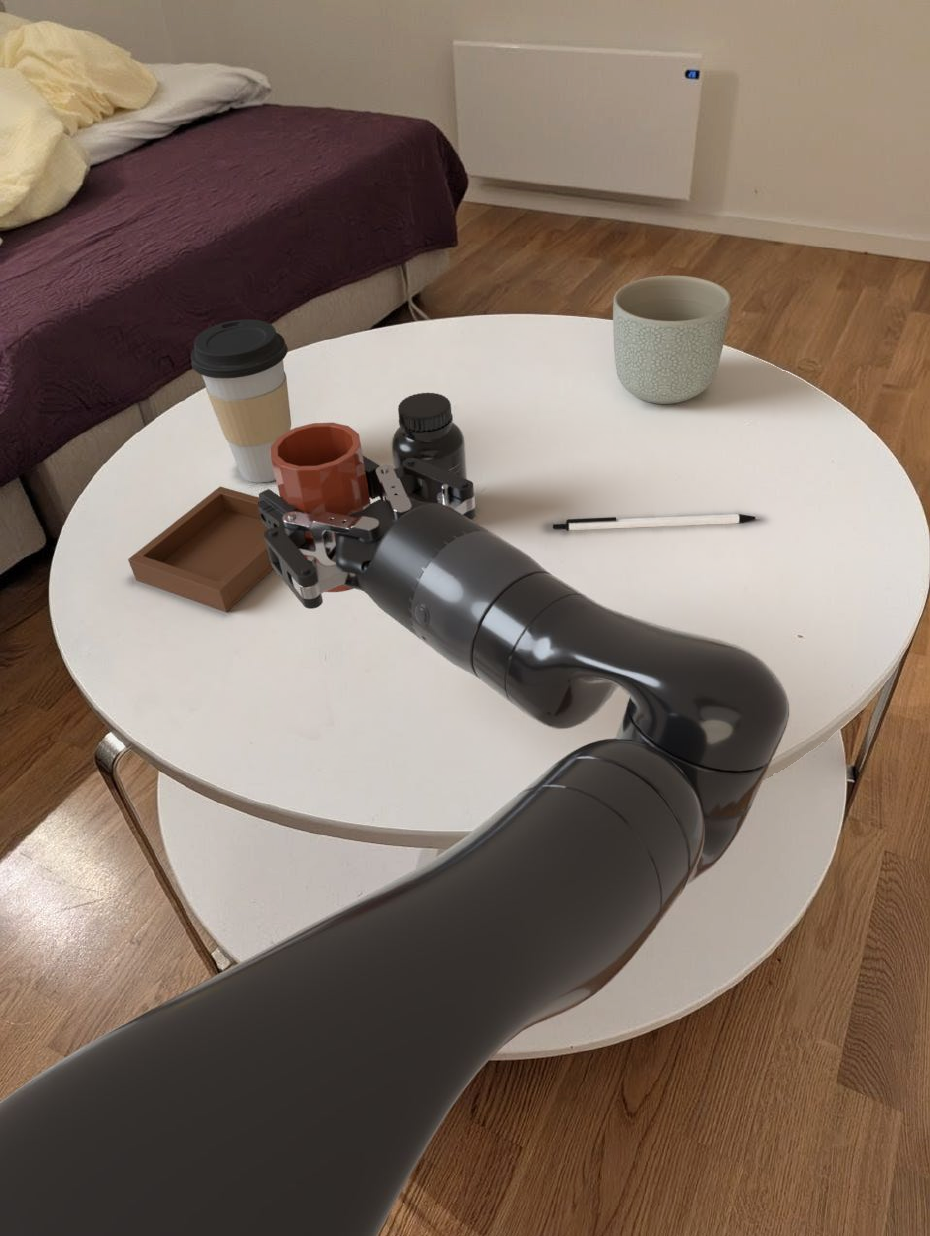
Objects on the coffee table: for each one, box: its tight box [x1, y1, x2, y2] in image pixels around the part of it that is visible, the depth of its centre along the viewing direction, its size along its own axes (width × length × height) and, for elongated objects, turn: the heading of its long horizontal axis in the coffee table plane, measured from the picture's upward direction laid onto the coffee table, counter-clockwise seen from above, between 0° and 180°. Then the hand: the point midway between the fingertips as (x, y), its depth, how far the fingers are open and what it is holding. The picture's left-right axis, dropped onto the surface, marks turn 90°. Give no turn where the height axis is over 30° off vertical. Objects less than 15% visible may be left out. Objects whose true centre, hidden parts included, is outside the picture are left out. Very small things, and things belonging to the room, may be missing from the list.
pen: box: [552, 513, 758, 531], centre depth 87 cm, size 1×19×1 cm, turn 89°
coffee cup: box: [190, 319, 292, 484], centre depth 94 cm, size 9×9×15 cm
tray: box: [127, 486, 274, 613], centre depth 87 cm, size 13×11×2 cm
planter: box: [612, 275, 732, 405], centre depth 102 cm, size 12×12×11 cm
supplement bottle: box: [391, 392, 468, 502], centre depth 87 cm, size 7×7×12 cm
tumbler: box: [270, 422, 372, 593], centre depth 63 cm, size 6×6×10 cm
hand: (306, 483), depth 63 cm, fingers closed on tumbler, 6 cm apart
